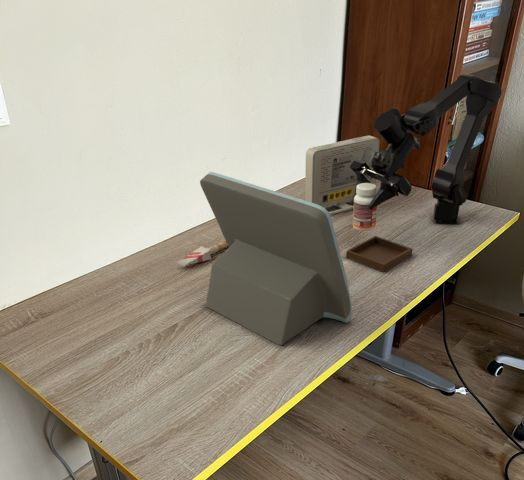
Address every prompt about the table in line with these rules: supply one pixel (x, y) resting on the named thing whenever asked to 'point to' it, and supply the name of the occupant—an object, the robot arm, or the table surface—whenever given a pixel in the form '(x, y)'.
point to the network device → (335, 171)
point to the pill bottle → (364, 207)
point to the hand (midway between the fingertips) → (361, 204)
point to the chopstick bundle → (202, 254)
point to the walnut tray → (379, 253)
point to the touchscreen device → (274, 260)
